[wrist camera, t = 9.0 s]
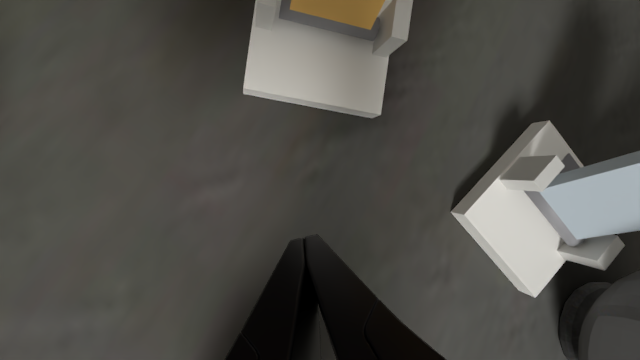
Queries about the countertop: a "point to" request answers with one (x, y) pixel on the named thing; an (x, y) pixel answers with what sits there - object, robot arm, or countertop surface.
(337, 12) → the amber lever
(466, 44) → the countertop surface
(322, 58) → the switch plate
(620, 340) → the pitcher
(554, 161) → the switch plate
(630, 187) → the slate lever
